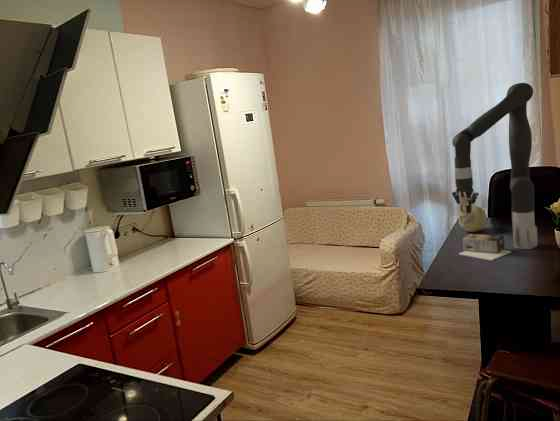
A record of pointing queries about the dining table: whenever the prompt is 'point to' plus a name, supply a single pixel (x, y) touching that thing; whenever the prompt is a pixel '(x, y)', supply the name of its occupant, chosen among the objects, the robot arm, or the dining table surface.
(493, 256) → the mat
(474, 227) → the cantaloupe
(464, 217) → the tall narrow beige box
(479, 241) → the coffee box
